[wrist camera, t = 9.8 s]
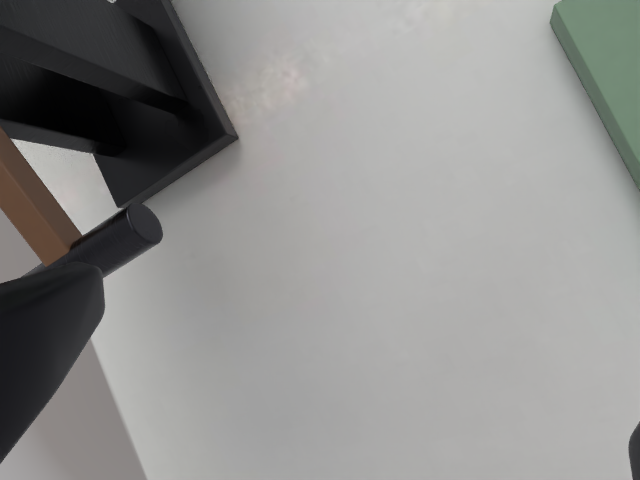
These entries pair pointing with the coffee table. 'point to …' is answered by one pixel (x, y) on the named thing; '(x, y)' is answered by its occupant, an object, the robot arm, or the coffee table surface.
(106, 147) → the bracket
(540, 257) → the coffee table surface
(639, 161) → the control box
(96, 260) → the lever
